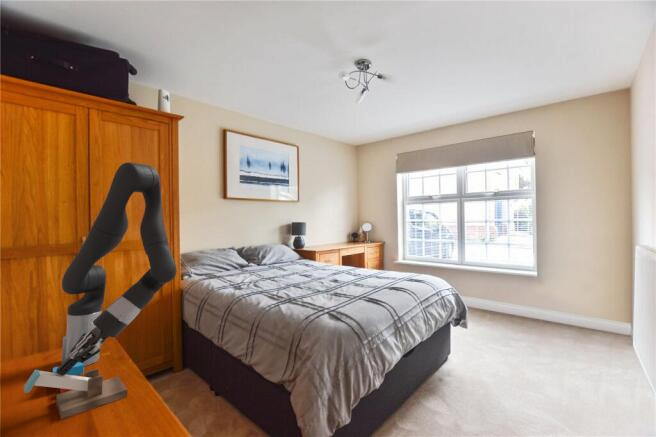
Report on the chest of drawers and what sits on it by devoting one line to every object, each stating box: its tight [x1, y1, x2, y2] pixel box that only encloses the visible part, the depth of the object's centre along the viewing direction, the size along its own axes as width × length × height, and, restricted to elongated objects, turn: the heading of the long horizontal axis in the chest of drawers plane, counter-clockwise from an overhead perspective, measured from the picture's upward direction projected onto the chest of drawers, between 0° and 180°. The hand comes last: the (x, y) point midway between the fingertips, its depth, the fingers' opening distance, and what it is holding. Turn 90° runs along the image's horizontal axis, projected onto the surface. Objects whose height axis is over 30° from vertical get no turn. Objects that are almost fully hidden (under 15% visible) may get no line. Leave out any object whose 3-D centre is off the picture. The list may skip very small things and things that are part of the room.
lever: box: [52, 362, 85, 394], centre depth 90 cm, size 7×7×18 cm
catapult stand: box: [55, 368, 128, 420], centre depth 82 cm, size 14×10×7 cm
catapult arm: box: [23, 369, 90, 394], centre depth 78 cm, size 4×4×14 cm
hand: (59, 373), depth 77 cm, fingers closed
